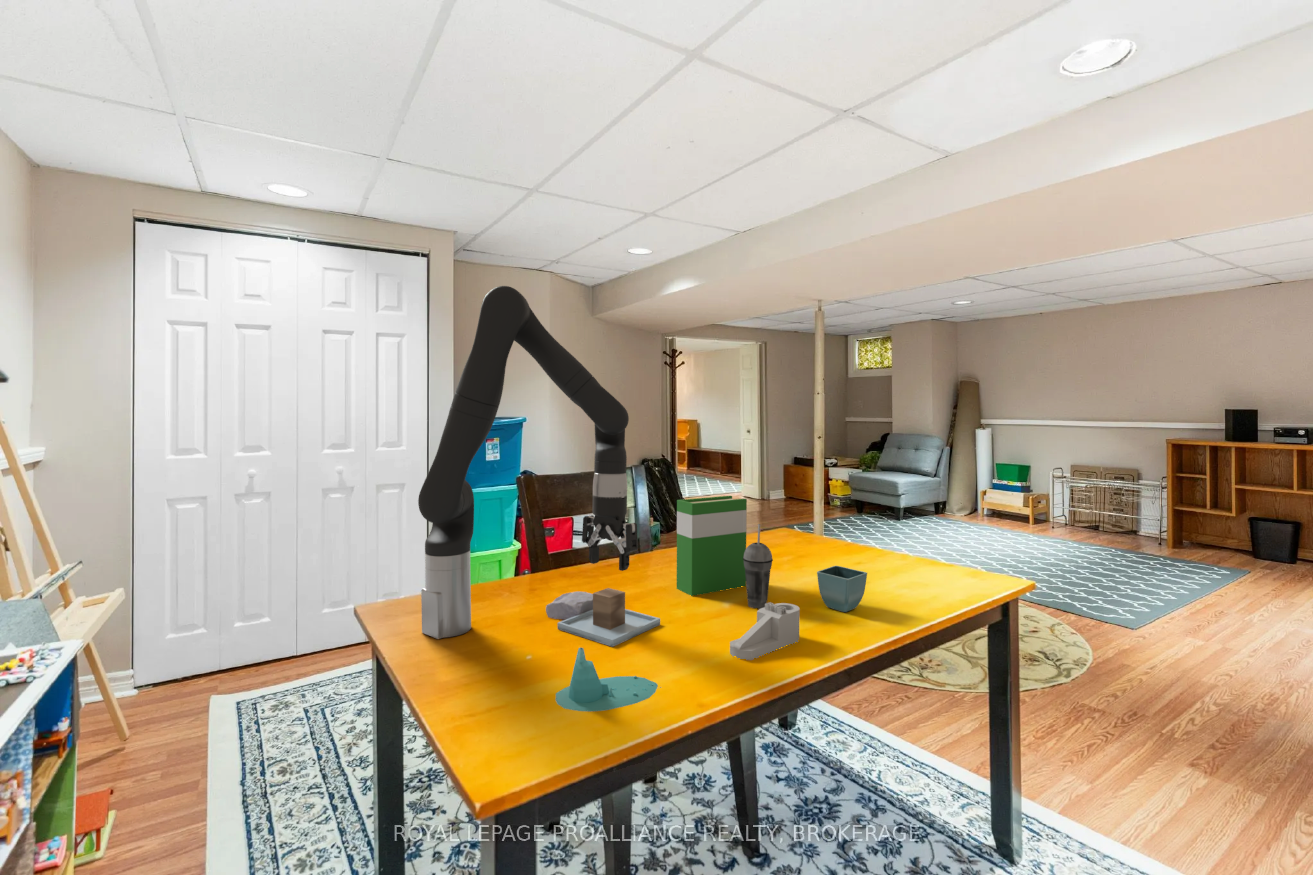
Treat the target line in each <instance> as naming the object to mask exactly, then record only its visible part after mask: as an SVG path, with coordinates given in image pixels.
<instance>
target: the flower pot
mask: <svg viewBox="0 0 1313 875" xmlns="http://www.w3.org/2000/svg"><path fill="white" fill-rule="evenodd" d="M816 574H817V575H816V576H817V582H818V590H819V594H820V598H821V600H822V601H823V603H824V605H825V607H826V608H829V609H833V610H835V611H839V612H843V613H848V612H850V611H851V610H854V609H857V607H858V606H859V604H860V603H861V602H862V599H863V597H864V594H865V590H866V584H867V577H868V572H865V571H862V570H858V569H854V568H853V569H852V568H848V567H844V566H839V565H832V566H830V567H827V568H824V569H821V570H817V571H816Z"/></svg>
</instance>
